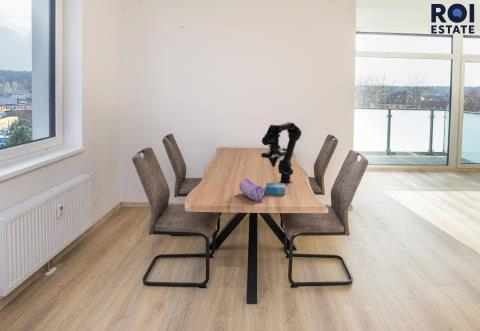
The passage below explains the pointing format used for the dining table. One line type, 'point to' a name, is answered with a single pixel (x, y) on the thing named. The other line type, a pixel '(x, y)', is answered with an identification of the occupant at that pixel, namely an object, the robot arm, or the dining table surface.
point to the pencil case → (252, 190)
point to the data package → (275, 188)
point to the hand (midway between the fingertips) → (273, 167)
